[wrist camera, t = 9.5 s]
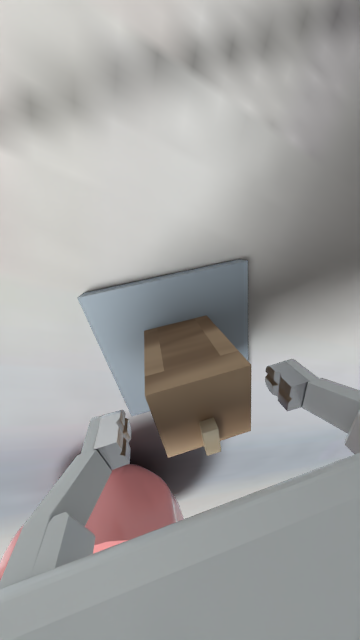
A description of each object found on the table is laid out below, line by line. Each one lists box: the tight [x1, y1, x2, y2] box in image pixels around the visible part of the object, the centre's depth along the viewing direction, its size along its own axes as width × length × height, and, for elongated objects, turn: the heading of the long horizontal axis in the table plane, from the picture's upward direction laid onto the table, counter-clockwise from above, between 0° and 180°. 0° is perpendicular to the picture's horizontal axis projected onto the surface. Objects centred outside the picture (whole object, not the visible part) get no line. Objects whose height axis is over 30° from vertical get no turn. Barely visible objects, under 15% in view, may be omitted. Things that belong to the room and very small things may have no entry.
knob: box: [144, 315, 251, 458], centre depth 11 cm, size 5×5×7 cm
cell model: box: [0, 464, 184, 580], centre depth 17 cm, size 17×20×11 cm
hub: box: [78, 259, 248, 416], centre depth 13 cm, size 12×12×6 cm
